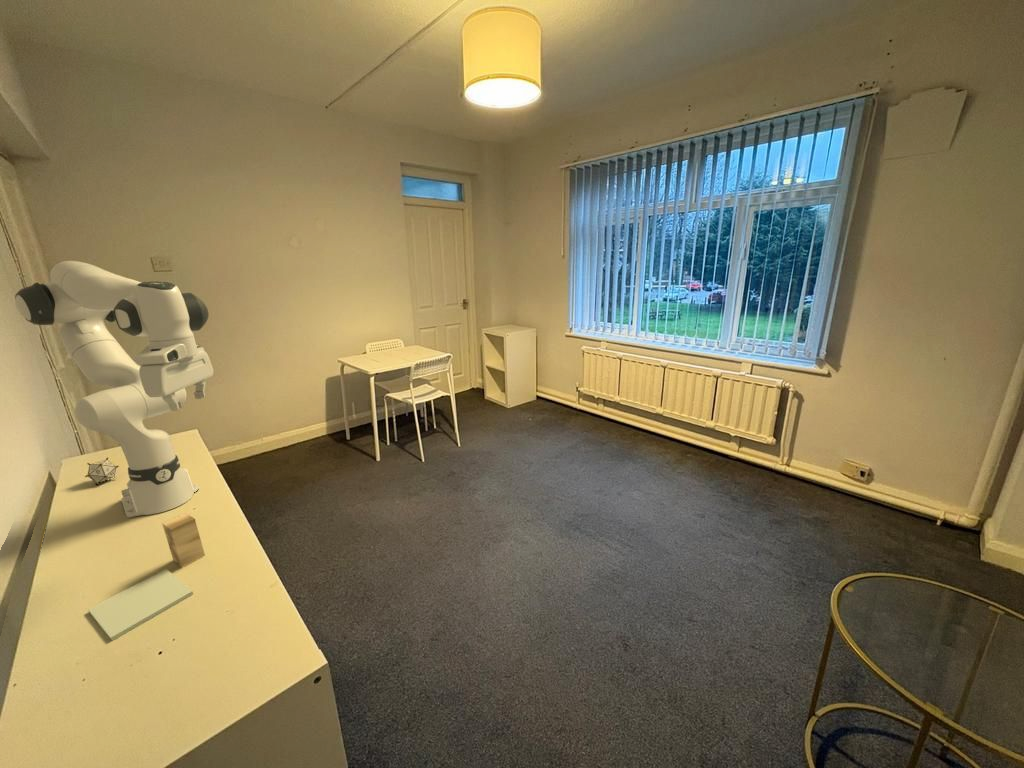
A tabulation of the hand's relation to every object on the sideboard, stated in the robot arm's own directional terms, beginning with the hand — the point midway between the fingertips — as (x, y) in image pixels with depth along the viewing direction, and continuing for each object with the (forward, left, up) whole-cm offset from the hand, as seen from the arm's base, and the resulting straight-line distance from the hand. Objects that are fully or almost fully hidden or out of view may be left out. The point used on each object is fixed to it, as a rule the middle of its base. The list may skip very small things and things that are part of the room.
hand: (188, 403), depth 104 cm
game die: (-70, -7, -38) cm, 80 cm away
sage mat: (+12, -22, -38) cm, 45 cm away
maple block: (+4, -10, -38) cm, 39 cm away
